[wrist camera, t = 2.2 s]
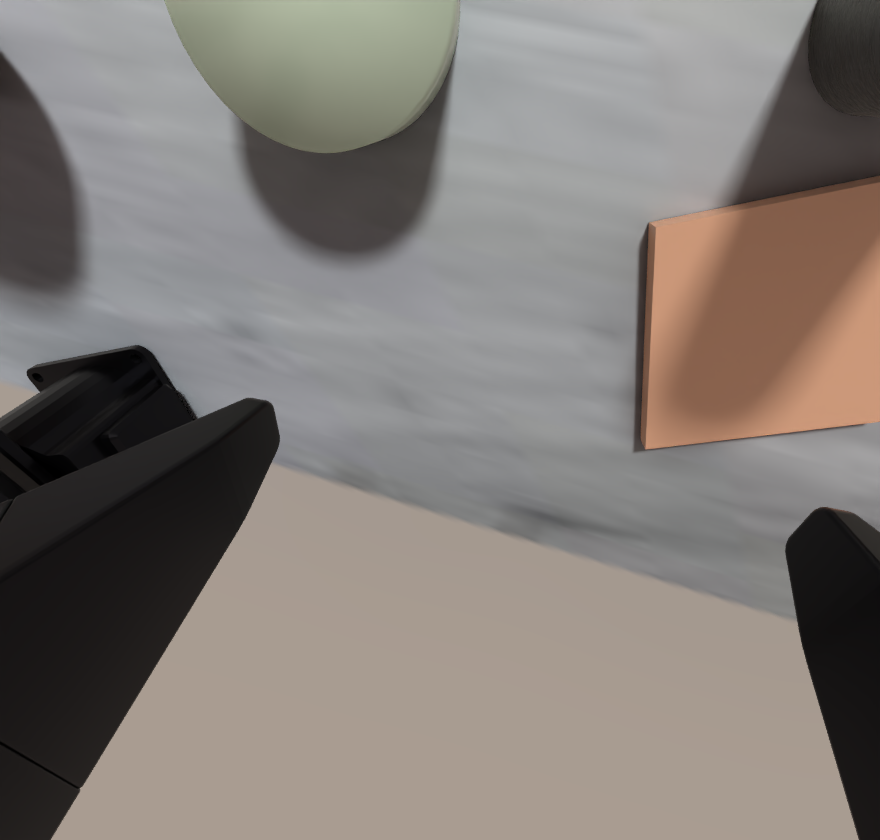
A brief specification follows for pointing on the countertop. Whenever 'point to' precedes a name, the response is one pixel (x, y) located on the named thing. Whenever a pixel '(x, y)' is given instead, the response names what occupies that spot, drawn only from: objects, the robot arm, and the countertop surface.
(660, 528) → the countertop surface
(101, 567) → the robot arm
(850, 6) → the canister
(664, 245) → the plate
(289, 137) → the pale green rounded piece
